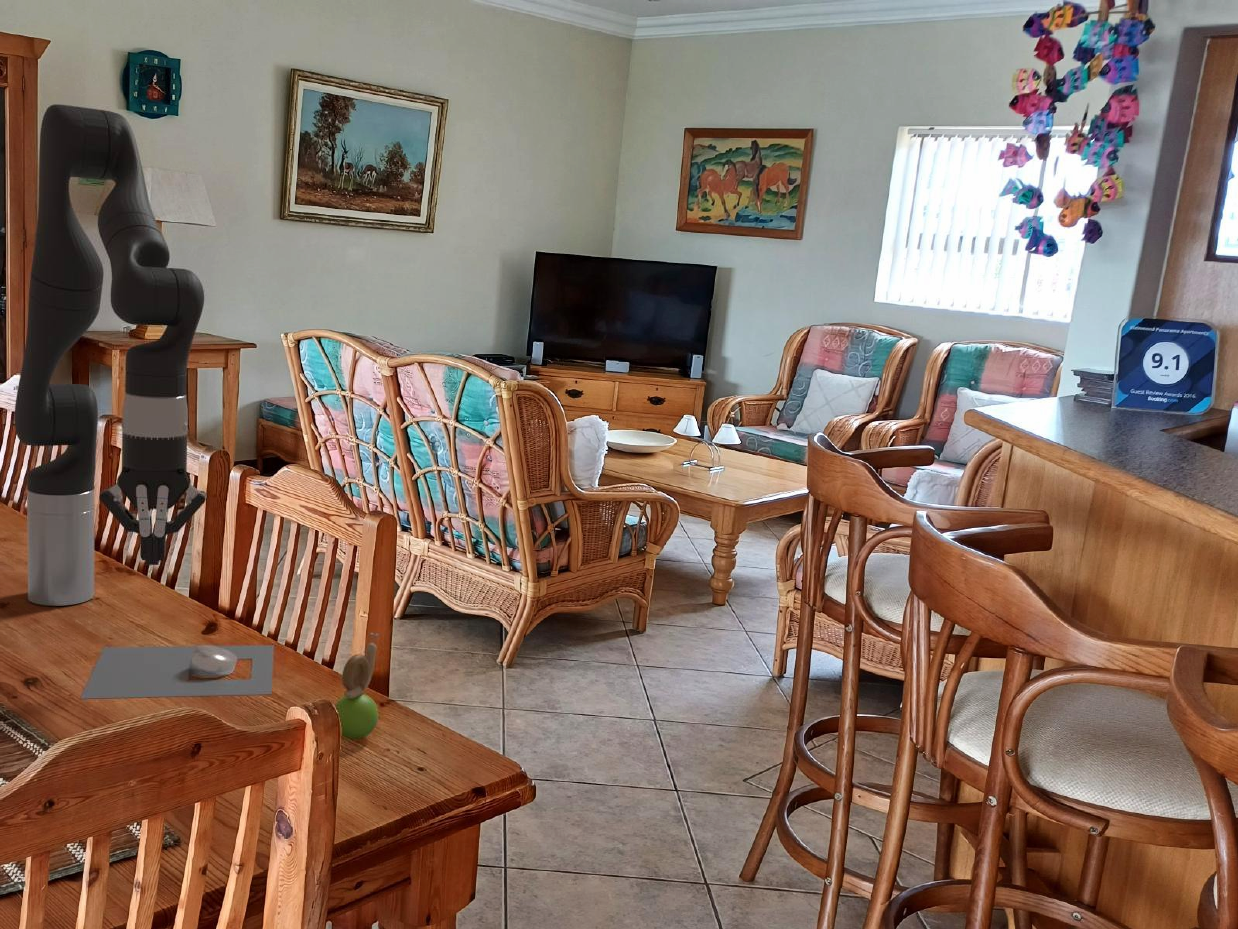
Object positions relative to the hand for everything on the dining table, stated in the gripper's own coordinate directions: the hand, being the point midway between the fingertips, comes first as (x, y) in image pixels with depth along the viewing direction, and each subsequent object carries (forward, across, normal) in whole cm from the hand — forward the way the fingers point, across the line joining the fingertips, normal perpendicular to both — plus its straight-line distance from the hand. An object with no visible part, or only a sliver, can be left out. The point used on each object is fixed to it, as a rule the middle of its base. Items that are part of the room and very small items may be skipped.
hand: (152, 563), depth 146 cm
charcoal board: (+16, -4, 0) cm, 16 cm away
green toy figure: (+15, -25, +19) cm, 35 cm away
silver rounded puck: (+15, -7, 0) cm, 17 cm away
